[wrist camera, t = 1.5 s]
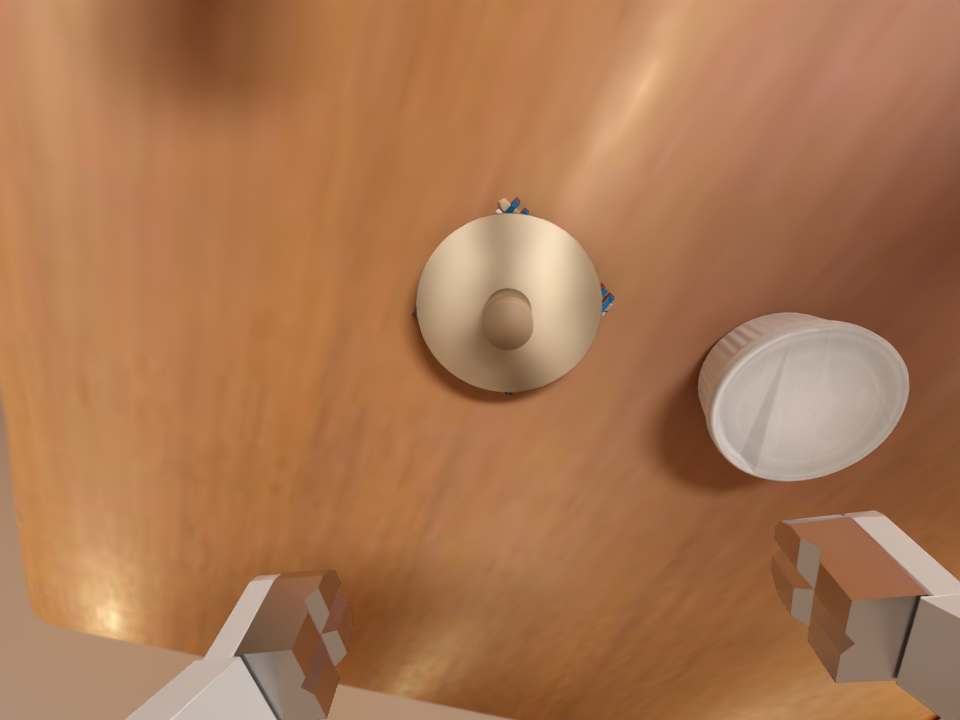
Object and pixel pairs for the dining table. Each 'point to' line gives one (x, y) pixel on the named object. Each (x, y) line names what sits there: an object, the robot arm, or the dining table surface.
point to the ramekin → (801, 395)
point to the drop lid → (509, 302)
